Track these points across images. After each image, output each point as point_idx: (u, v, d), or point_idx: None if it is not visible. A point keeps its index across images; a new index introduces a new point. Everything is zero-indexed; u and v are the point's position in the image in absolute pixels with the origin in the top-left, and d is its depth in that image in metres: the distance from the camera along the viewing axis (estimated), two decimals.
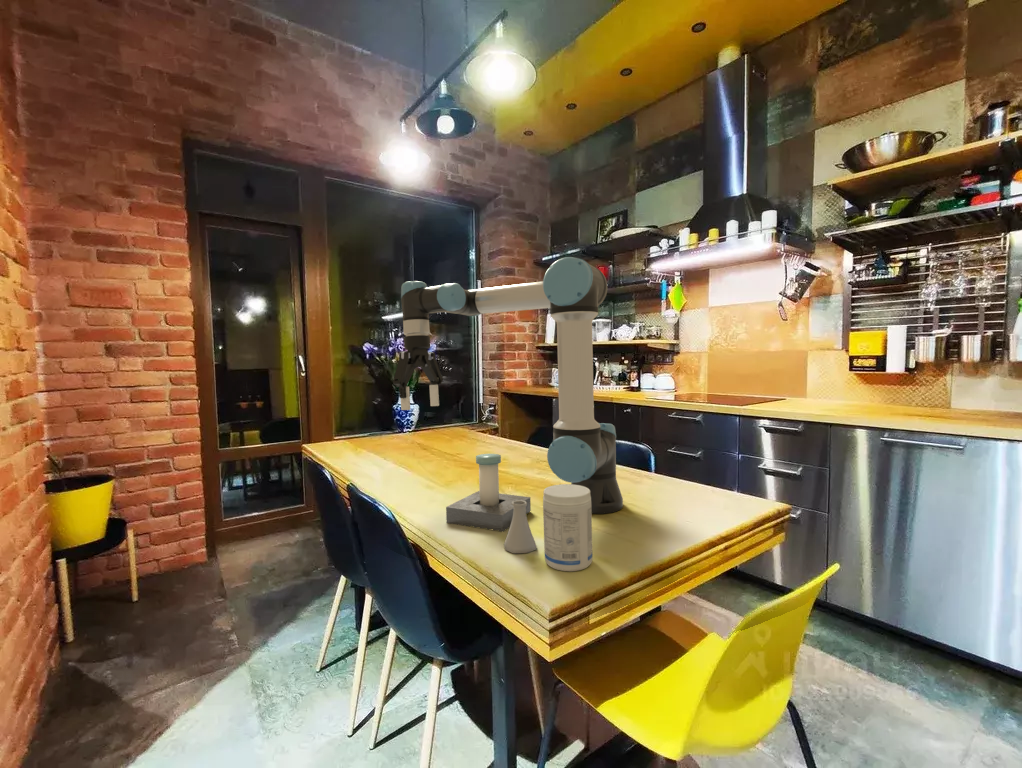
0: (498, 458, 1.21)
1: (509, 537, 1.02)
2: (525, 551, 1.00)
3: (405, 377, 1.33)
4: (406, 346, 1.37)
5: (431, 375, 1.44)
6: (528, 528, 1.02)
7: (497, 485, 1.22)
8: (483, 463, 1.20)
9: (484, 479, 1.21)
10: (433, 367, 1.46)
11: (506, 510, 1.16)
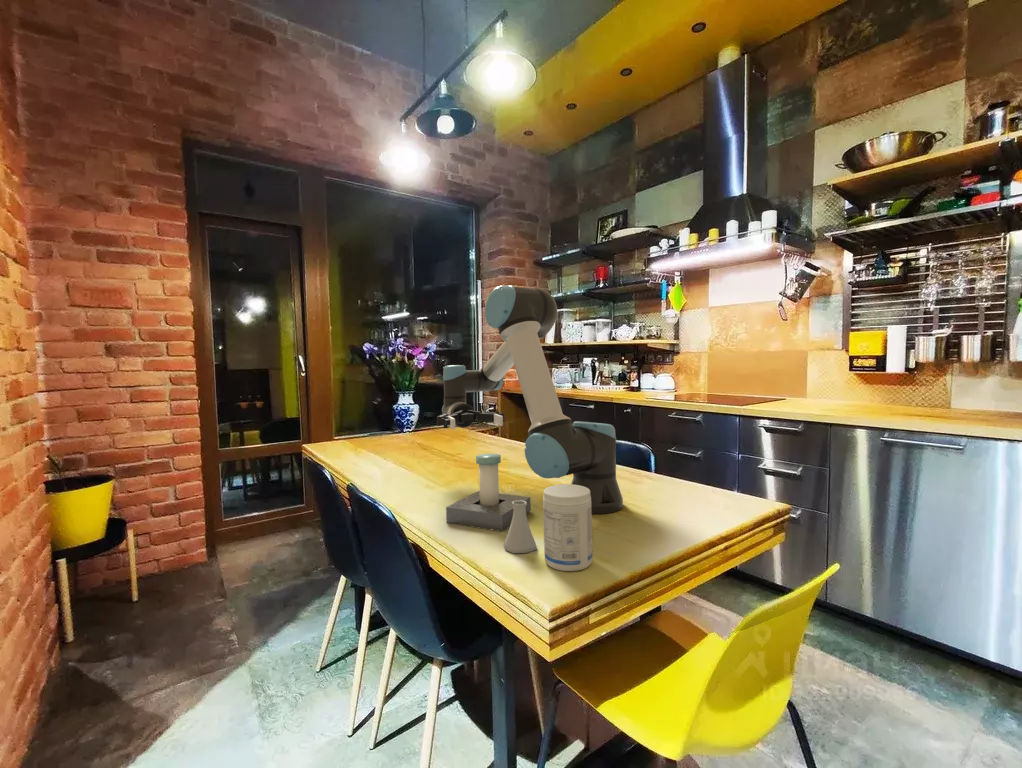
0: (498, 458, 1.21)
1: (509, 537, 1.02)
2: (525, 551, 1.00)
3: None
4: None
5: (486, 415, 1.42)
6: (528, 528, 1.02)
7: (497, 485, 1.22)
8: (483, 463, 1.20)
9: (484, 479, 1.21)
10: None
11: (506, 510, 1.16)
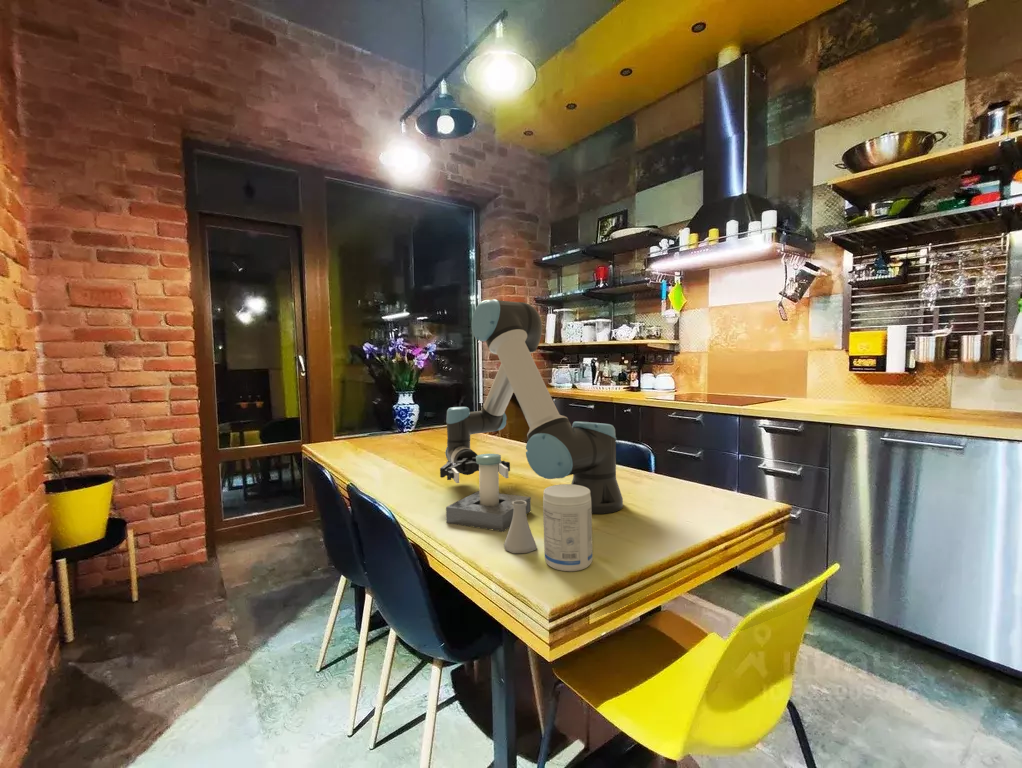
0: (498, 458, 1.21)
1: (509, 537, 1.02)
2: (525, 551, 1.00)
3: None
4: None
5: None
6: (528, 528, 1.02)
7: (497, 485, 1.22)
8: (483, 463, 1.20)
9: (484, 479, 1.21)
10: None
11: (506, 510, 1.16)
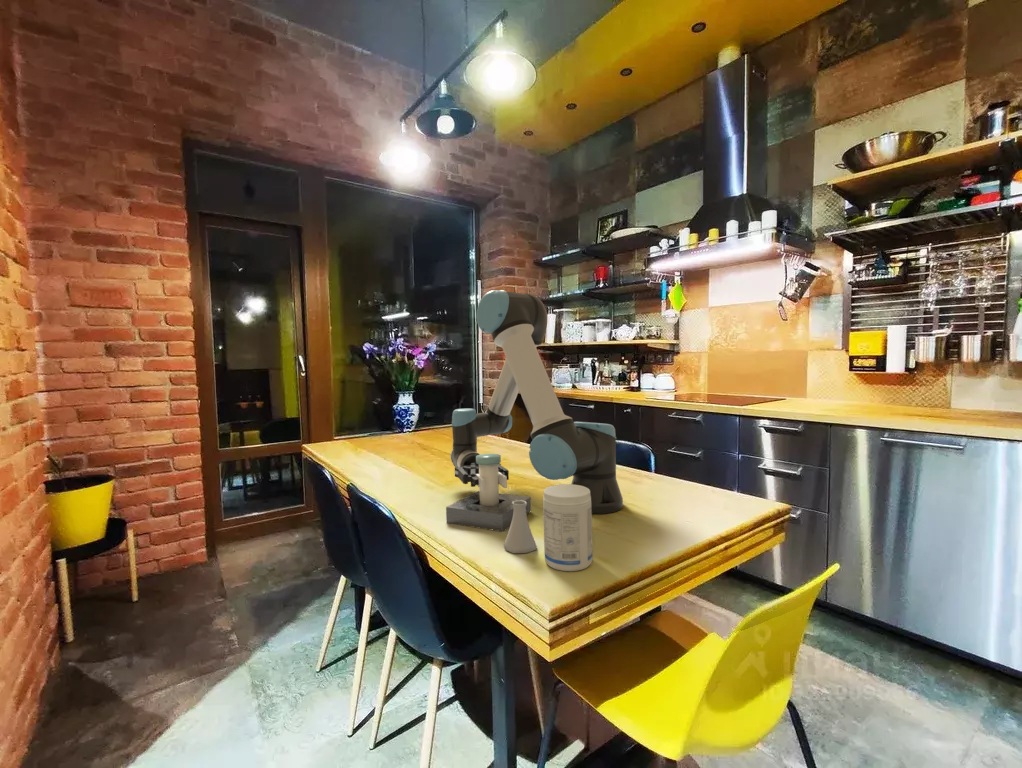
0: (498, 458, 1.21)
1: (509, 537, 1.02)
2: (525, 551, 1.00)
3: None
4: None
5: None
6: (528, 528, 1.02)
7: (497, 485, 1.22)
8: (483, 463, 1.20)
9: None
10: (498, 470, 1.31)
11: (506, 510, 1.16)
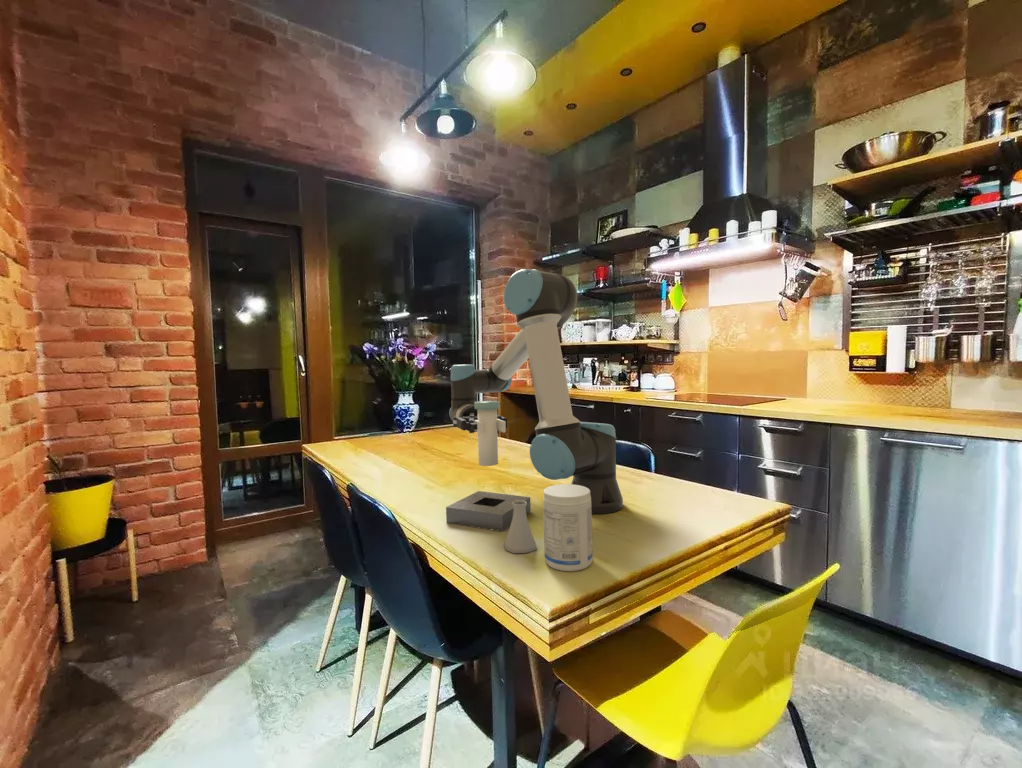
0: (497, 403, 1.20)
1: (509, 537, 1.02)
2: (525, 551, 1.00)
3: None
4: None
5: None
6: (528, 528, 1.02)
7: (496, 431, 1.22)
8: (482, 408, 1.19)
9: None
10: None
11: (506, 510, 1.16)
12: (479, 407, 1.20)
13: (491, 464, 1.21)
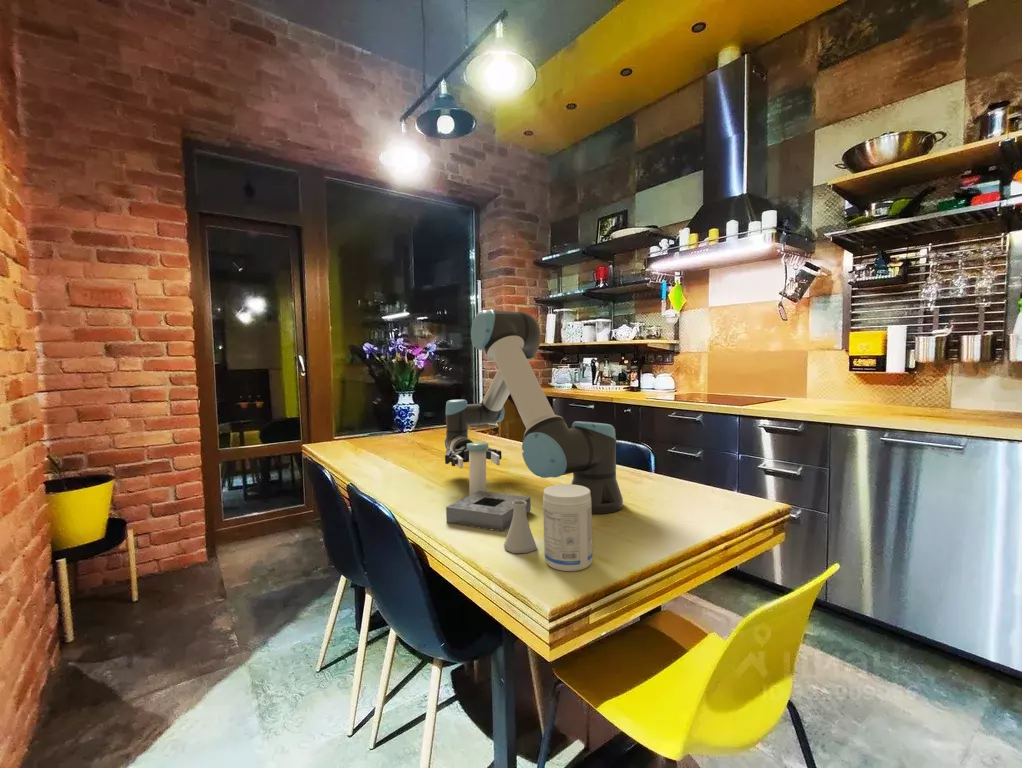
0: (486, 446, 1.39)
1: (509, 537, 1.02)
2: (525, 551, 1.00)
3: None
4: None
5: None
6: (528, 528, 1.02)
7: (484, 469, 1.40)
8: (472, 450, 1.38)
9: (473, 464, 1.39)
10: None
11: (506, 510, 1.16)
12: (470, 449, 1.38)
13: None
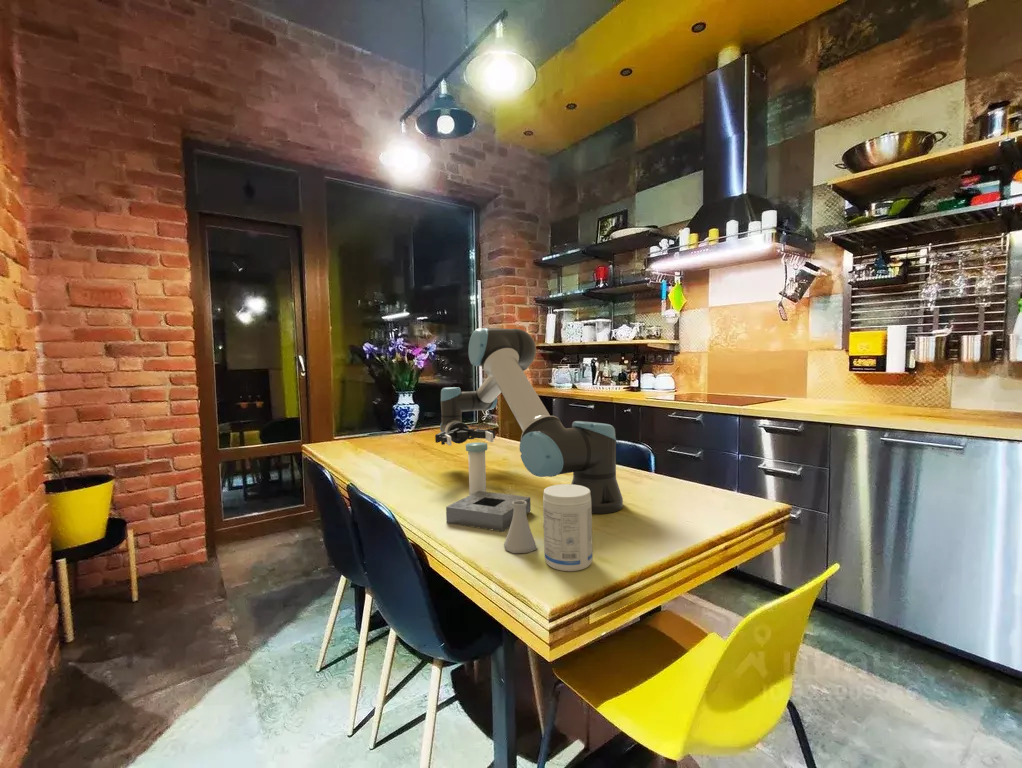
0: (485, 446, 1.39)
1: (509, 537, 1.02)
2: (525, 551, 1.00)
3: None
4: None
5: (479, 432, 1.61)
6: (528, 528, 1.02)
7: (484, 469, 1.40)
8: (472, 450, 1.38)
9: (472, 464, 1.39)
10: None
11: (506, 510, 1.16)
12: (469, 449, 1.38)
13: None
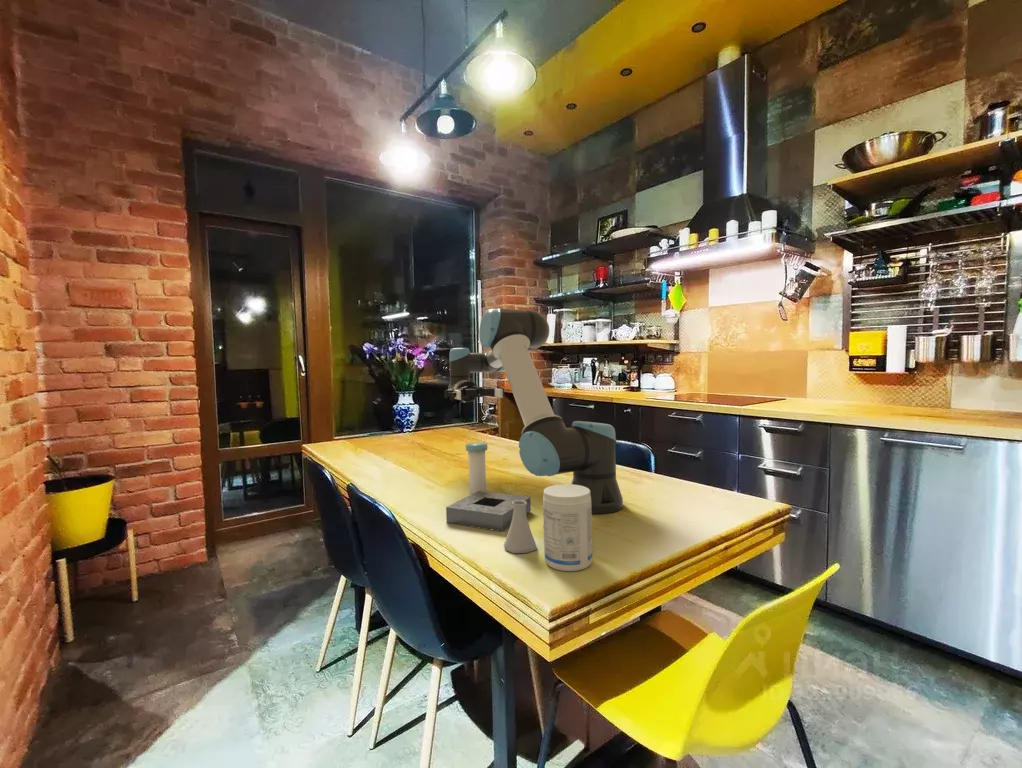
0: (485, 446, 1.39)
1: (509, 537, 1.02)
2: (525, 551, 1.00)
3: None
4: None
5: (488, 390, 1.61)
6: (528, 528, 1.02)
7: (484, 469, 1.40)
8: (472, 450, 1.38)
9: (472, 464, 1.39)
10: None
11: (506, 510, 1.16)
12: (469, 449, 1.38)
13: None
